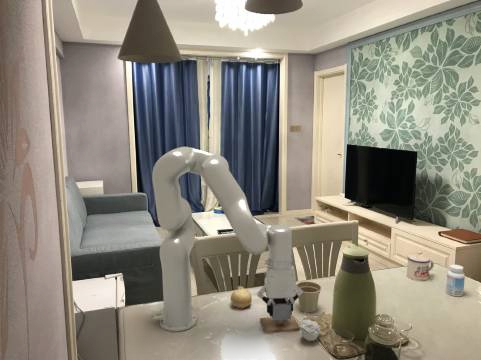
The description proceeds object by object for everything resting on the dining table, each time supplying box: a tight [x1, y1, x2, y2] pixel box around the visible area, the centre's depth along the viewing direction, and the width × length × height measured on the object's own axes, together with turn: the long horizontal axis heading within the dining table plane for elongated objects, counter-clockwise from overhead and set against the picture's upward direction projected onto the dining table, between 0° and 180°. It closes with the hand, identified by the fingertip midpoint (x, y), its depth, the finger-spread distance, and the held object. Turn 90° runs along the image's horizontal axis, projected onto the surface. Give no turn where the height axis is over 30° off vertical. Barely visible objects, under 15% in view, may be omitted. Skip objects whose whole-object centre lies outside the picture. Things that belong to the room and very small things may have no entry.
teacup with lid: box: [406, 250, 435, 282], centre depth 171 cm, size 12×9×12 cm
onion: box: [230, 285, 253, 309], centre depth 147 cm, size 8×8×7 cm
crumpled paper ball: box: [299, 318, 321, 342], centre depth 124 cm, size 6×7×7 cm
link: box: [271, 298, 292, 320], centre depth 132 cm, size 6×6×5 cm
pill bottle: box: [445, 264, 466, 297], centre depth 155 cm, size 6×6×11 cm
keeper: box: [259, 315, 301, 334], centre depth 133 cm, size 12×8×6 cm, turn 97°
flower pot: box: [296, 280, 322, 313], centre depth 144 cm, size 9×9×9 cm
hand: (279, 313), depth 133 cm, fingers closed on link, 6 cm apart
